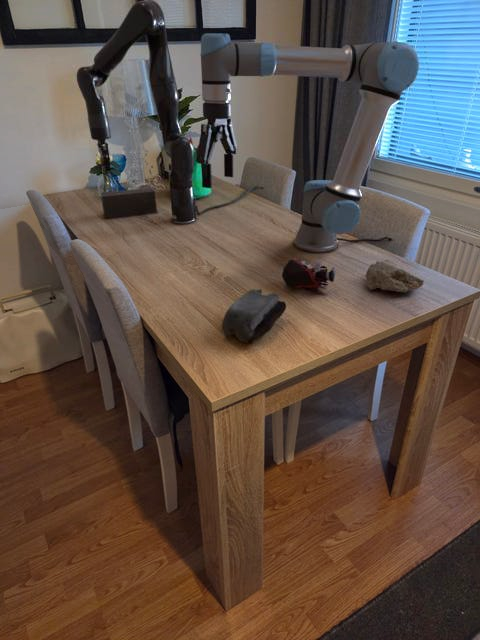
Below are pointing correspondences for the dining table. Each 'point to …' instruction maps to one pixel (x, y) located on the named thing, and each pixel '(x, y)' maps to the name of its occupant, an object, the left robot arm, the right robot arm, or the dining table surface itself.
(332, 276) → the toy
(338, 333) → the dining table surface
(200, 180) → the toy
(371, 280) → the artifact
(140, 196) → the box
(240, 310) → the dark grey pouch
